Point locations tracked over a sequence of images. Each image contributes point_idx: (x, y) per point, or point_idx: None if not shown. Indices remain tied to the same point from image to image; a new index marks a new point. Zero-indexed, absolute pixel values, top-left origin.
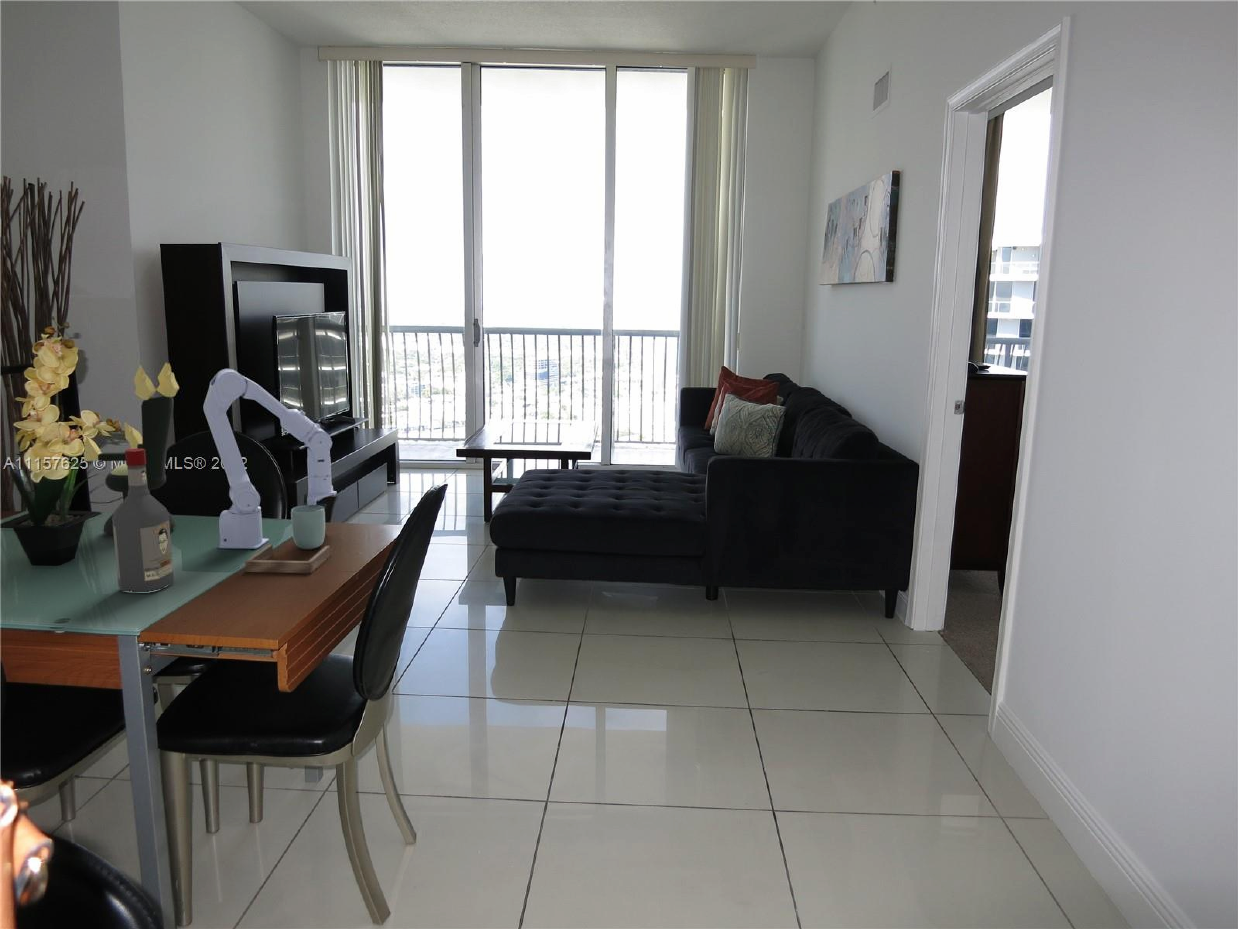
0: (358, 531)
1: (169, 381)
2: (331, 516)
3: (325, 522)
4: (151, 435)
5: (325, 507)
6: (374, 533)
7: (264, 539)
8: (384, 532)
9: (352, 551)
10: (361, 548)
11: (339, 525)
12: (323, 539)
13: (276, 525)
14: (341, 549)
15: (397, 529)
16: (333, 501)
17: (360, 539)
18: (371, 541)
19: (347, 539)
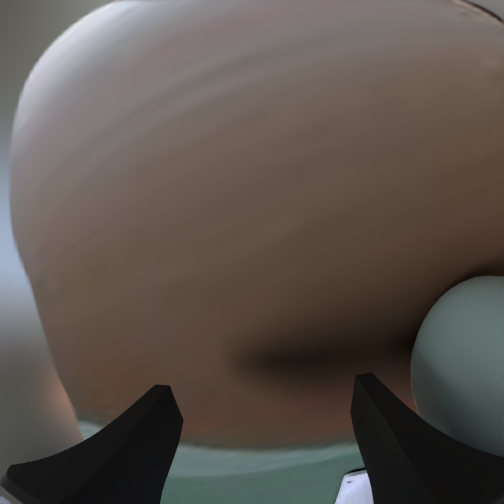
0: (107, 201)
1: None
2: (139, 405)
3: (177, 406)
4: None
5: (448, 493)
6: (132, 85)
7: (356, 480)
8: (110, 51)
9: (489, 99)
10: (446, 61)
11: (62, 338)
12: (486, 276)
13: (164, 488)
14: (481, 157)
15: (64, 37)
16: (82, 494)
17: (285, 102)
18: (314, 30)
19: (301, 188)
